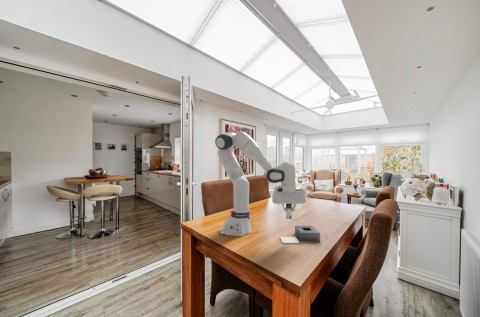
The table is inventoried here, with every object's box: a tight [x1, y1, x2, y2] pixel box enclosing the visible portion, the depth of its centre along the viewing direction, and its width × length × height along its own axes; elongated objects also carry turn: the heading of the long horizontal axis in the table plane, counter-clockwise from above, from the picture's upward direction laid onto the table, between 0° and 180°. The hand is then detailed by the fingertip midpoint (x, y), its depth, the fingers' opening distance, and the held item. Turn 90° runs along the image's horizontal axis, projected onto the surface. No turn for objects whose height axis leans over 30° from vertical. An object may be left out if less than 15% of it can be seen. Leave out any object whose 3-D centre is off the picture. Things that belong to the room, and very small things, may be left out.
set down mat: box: [279, 236, 300, 245], centre depth 107 cm, size 10×8×1 cm
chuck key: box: [285, 204, 293, 220], centre depth 108 cm, size 4×4×9 cm
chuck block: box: [294, 225, 321, 242], centre depth 113 cm, size 12×12×5 cm
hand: (288, 210), depth 108 cm, fingers closed on chuck key, 4 cm apart
